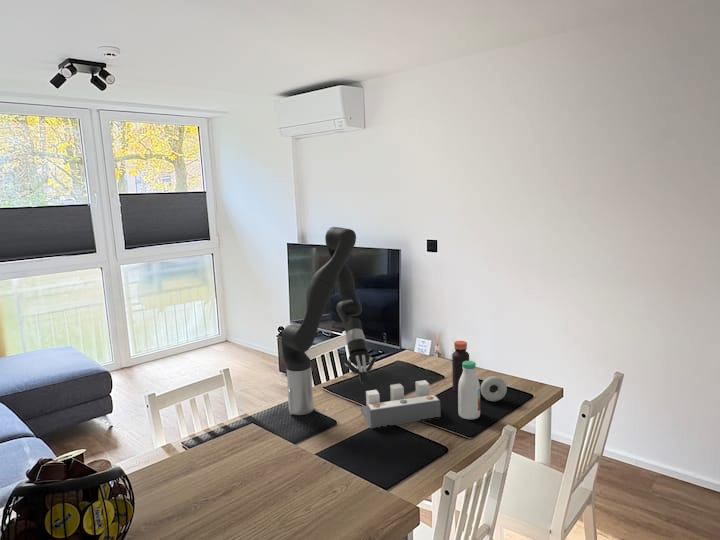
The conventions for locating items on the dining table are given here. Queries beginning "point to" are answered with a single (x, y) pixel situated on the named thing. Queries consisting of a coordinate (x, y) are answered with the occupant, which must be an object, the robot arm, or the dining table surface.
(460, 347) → the vinegar
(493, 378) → the donut
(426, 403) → the block
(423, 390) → the key right
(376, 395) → the key left
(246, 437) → the dining table surface
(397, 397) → the key middle
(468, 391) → the milk bottle
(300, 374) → the robot arm
